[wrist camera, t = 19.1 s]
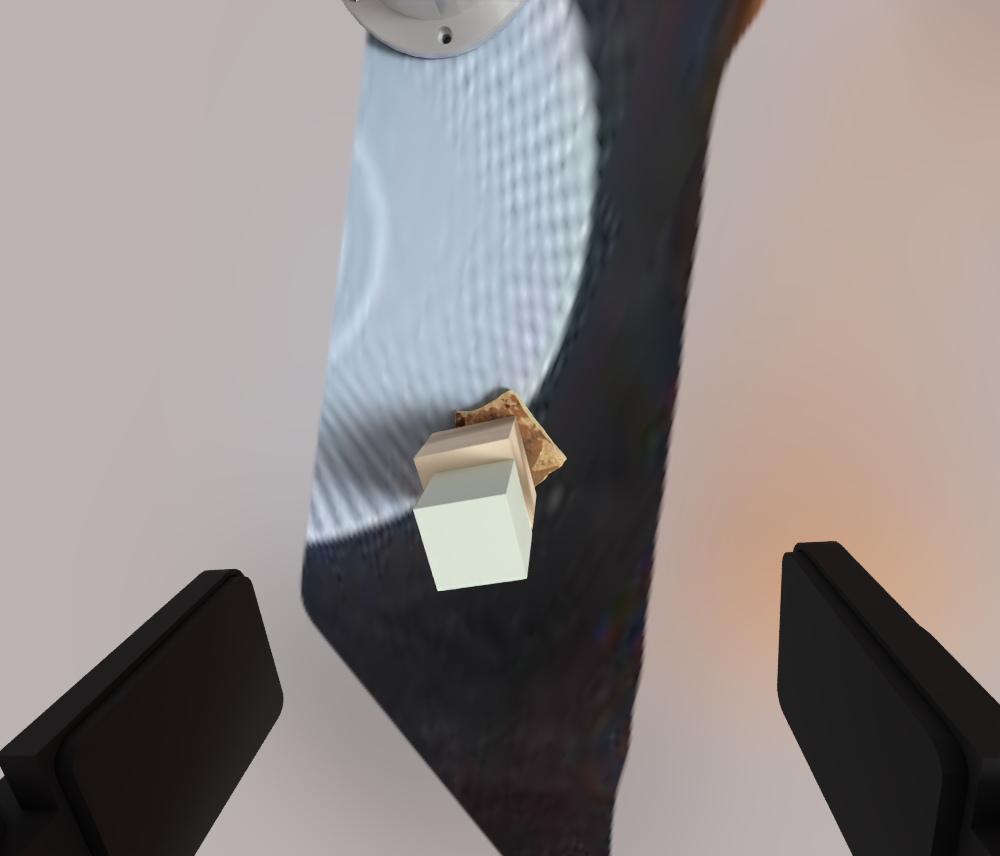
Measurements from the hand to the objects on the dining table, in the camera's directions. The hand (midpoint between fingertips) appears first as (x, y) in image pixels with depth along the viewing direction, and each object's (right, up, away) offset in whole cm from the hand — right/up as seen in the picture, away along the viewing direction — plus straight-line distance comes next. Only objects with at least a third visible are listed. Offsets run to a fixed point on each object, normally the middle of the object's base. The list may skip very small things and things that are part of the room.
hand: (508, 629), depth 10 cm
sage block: (-1, -1, +24) cm, 24 cm away
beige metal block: (-1, +1, +29) cm, 29 cm away
